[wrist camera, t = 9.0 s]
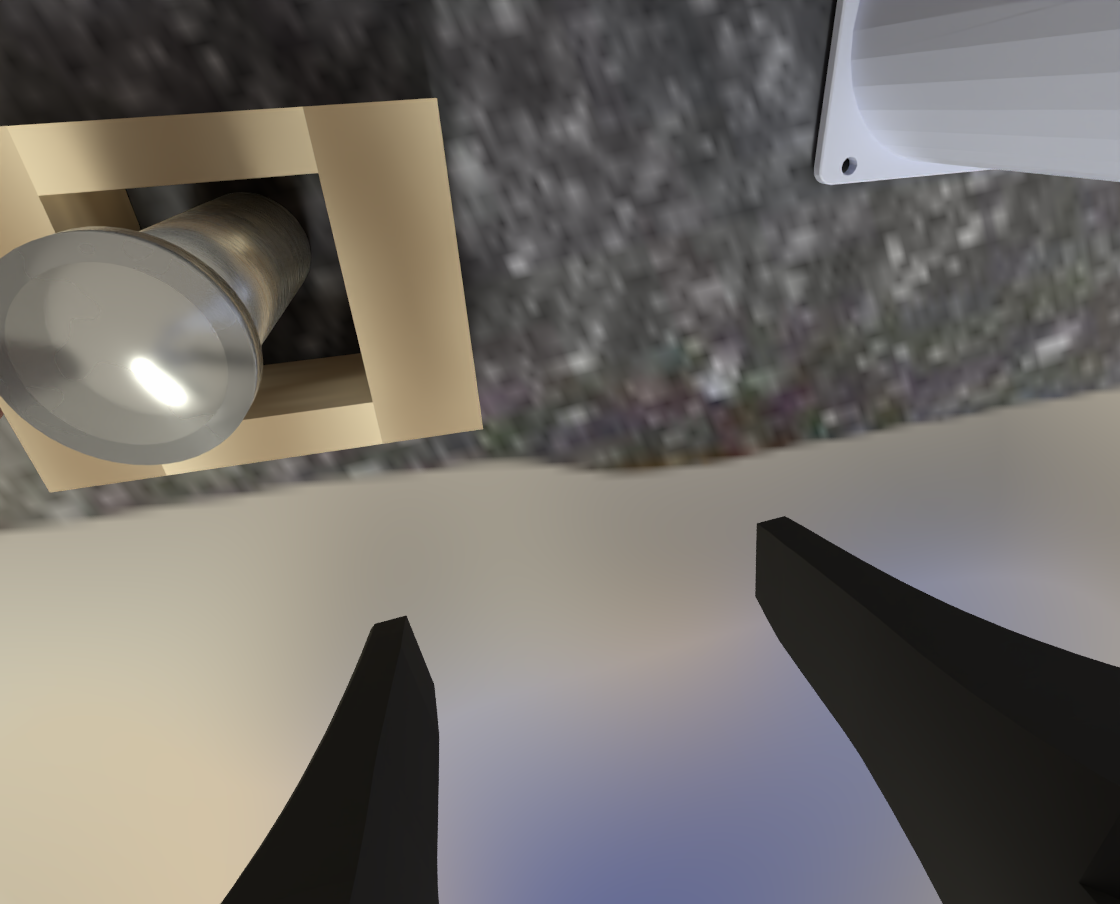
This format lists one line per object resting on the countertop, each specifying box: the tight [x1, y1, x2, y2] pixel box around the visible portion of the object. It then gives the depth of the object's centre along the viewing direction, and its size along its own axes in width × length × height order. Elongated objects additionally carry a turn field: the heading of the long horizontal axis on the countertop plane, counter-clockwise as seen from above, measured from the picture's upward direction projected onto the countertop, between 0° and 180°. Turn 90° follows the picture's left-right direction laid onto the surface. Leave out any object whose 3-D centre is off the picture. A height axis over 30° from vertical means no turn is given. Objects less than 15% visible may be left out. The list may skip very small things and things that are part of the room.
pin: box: [0, 192, 311, 465], centre depth 13 cm, size 4×4×9 cm
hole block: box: [0, 98, 483, 492], centre depth 16 cm, size 11×8×4 cm
